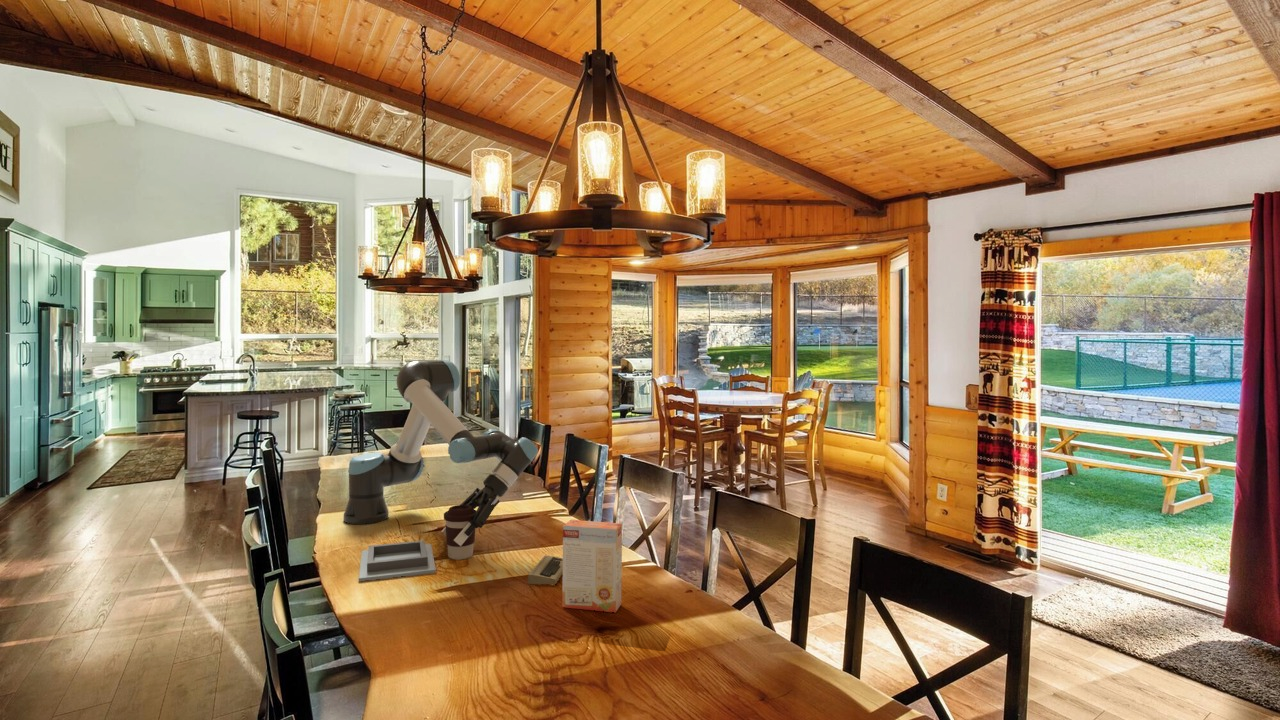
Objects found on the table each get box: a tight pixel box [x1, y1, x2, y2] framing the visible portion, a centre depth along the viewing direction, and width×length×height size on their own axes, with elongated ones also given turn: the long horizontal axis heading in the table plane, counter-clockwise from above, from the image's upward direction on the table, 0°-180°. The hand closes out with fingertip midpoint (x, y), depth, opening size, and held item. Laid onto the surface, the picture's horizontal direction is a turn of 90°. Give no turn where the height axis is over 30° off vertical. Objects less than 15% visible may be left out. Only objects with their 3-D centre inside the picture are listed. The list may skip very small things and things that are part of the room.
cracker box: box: [561, 519, 623, 614], centre depth 158 cm, size 14×6×21 cm, turn 77°
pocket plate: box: [358, 539, 437, 582], centre depth 186 cm, size 24×20×4 cm
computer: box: [526, 555, 563, 586], centre depth 179 cm, size 16×8×3 cm, turn 173°
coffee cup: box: [443, 504, 477, 561], centre depth 193 cm, size 10×10×15 cm
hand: (450, 538), depth 191 cm, fingers closed on coffee cup, 10 cm apart
